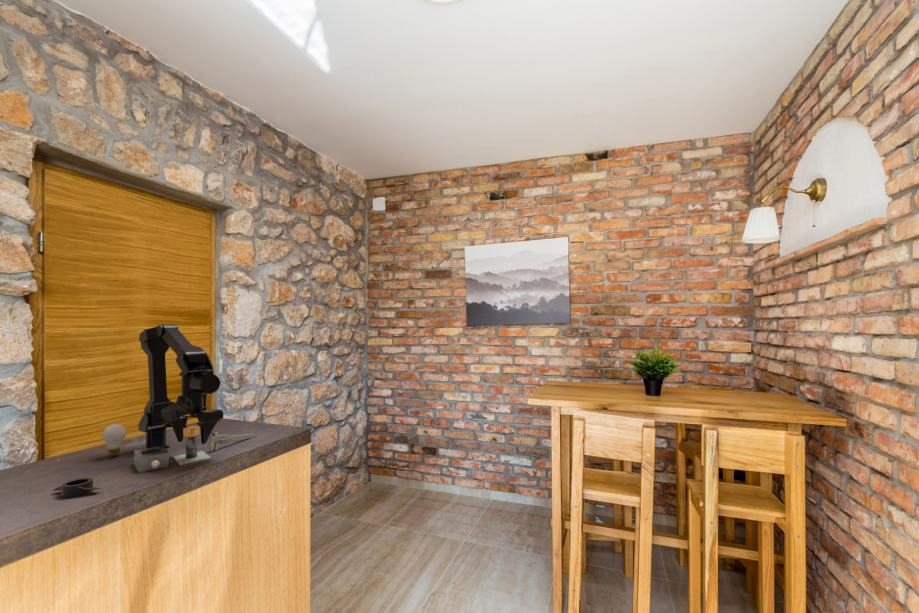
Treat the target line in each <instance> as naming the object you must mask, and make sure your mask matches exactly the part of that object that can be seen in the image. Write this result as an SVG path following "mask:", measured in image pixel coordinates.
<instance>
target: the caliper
mask: <svg viewBox="0 0 919 613" xmlns="http://www.w3.org/2000/svg"><path fill="white" fill-rule="evenodd" d="M257 436H258V435H257V434H255V433H246V434H245V433H244V434H234V435H229V434H218V432H217V431H216V432H213V431H212V432H211V435H210V436H209V438H208V449H207V450H208V451H207V452H208V453H213V452H217V451H218V448H219V446H220V444H228V443H229V441H236V440H247V439H252V438H255V437H257Z"/></svg>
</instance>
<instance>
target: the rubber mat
mask: <svg viewBox="0 0 919 613" xmlns="http://www.w3.org/2000/svg"><path fill="white" fill-rule="evenodd" d="M172 459H174V461H175V462H176V463H177V464H178V465H179V466H182V465H183V466H184V465H187V464H193V463H197V462H198V463H199V462H203V461H208V460H209V461H210V460H211V459H212V457H211V456H210V455H208V454H207V453H206V452H205V451H204V450H200V451H197V457H195V458H191V459H186V453H184V454H179V455H173V456H172Z"/></svg>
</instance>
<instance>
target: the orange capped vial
mask: <svg viewBox="0 0 919 613" xmlns="http://www.w3.org/2000/svg"><path fill="white" fill-rule="evenodd" d="M199 435H200V436H201V428H200V426H199V425H190V426H186V428H183V437H184V438H185V454H186V459H191V458H195V457H197V452H198V436H199Z"/></svg>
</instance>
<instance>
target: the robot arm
mask: <svg viewBox="0 0 919 613" xmlns="http://www.w3.org/2000/svg"><path fill="white" fill-rule="evenodd" d="M138 341H139V343H140V348H141V350H142V351H143V352H144V353H145V354H146V355H147V367H148V387H149V388H148V390H149V400H148V402H147V403H146V405H145V406H144V408H143V414H142V416H141V419H140V420H139V422H138V424H137V427H138V431H139V432H143V433H145V445H143V446H142V449H146V448H152V447H158V446H164V448H165V449H167V448H170V444H168V443H167V440H168V438H167V435H168V434H167V433H168V428H172V429H173V432H174V434H175V438H176V439H177V442H178V443H181V442H183V441H184V438H185V437H183V428H186V427H187V425H188V424H187V423H188V420H189V418H193V419H194V418H195V419H197V421H198V422H196V425H197V426H200V441H201V442H200V443H201V445H205V444H207V442H208V441H209V439H210V436H211V435H212V432H213V430H214V428H215V426H216V425H217V423H218V422H220V421H221V420H223V419H224V411H223V410H222V409H219V408H218V409H217V408H211V409H207V406H204V398H206V397H208V396H207V395H208V394H209V395H211V394H214V393H215V392H217V391H218V390H219V388H220V387H221V380H220V378H219V376H218V375H216V374H214V371H215V370H214V368H213V367H214V365H213V363H212V361H211V360H210V357H209V354H208V353H207V351H205V349H203V348H202V347H200V346H196V345H193V344H192V343H191V342H190V341H189V340H188V339H187V338H186V336H185V335H183V333H182V332H181V331H180V330H179V327H178V324H169V323H168V324H167V323H166V324H163V323H162V324H159V325H157V326H155V327H151V328H144V329H143V331H141V332H140V333H139V336H138ZM169 349H171V350H172V352H174V354H176V359H175V362H176V365H177V366H178V368H179V369H180V372H179V374H178V375H179V377H181V394H180V395H178V396H177V397H176V401H175V402H174V401H171V400H170V398H169V397H168V384H167V363H166V353H167V352H168V351H169Z"/></svg>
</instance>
